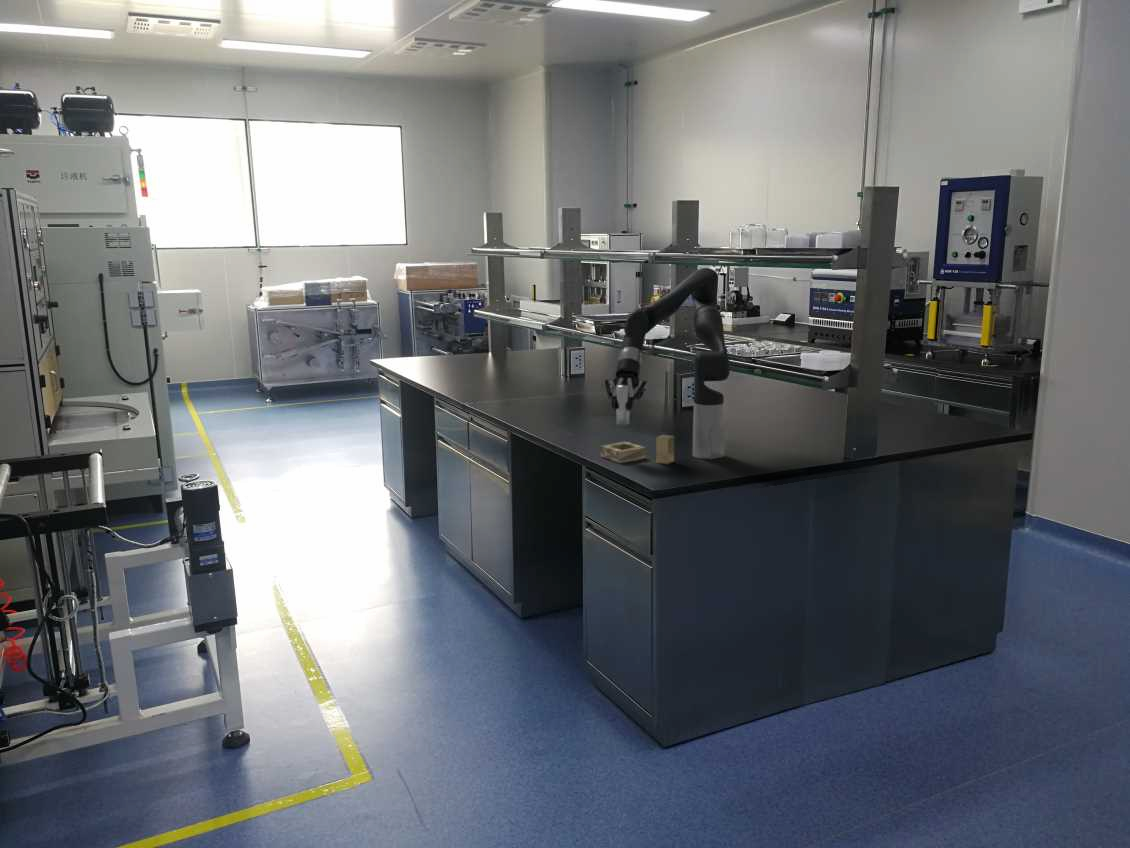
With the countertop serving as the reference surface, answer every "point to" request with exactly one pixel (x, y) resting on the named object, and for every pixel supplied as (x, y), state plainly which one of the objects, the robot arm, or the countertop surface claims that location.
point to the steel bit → (622, 404)
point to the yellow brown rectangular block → (665, 449)
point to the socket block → (623, 452)
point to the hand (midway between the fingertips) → (621, 408)
